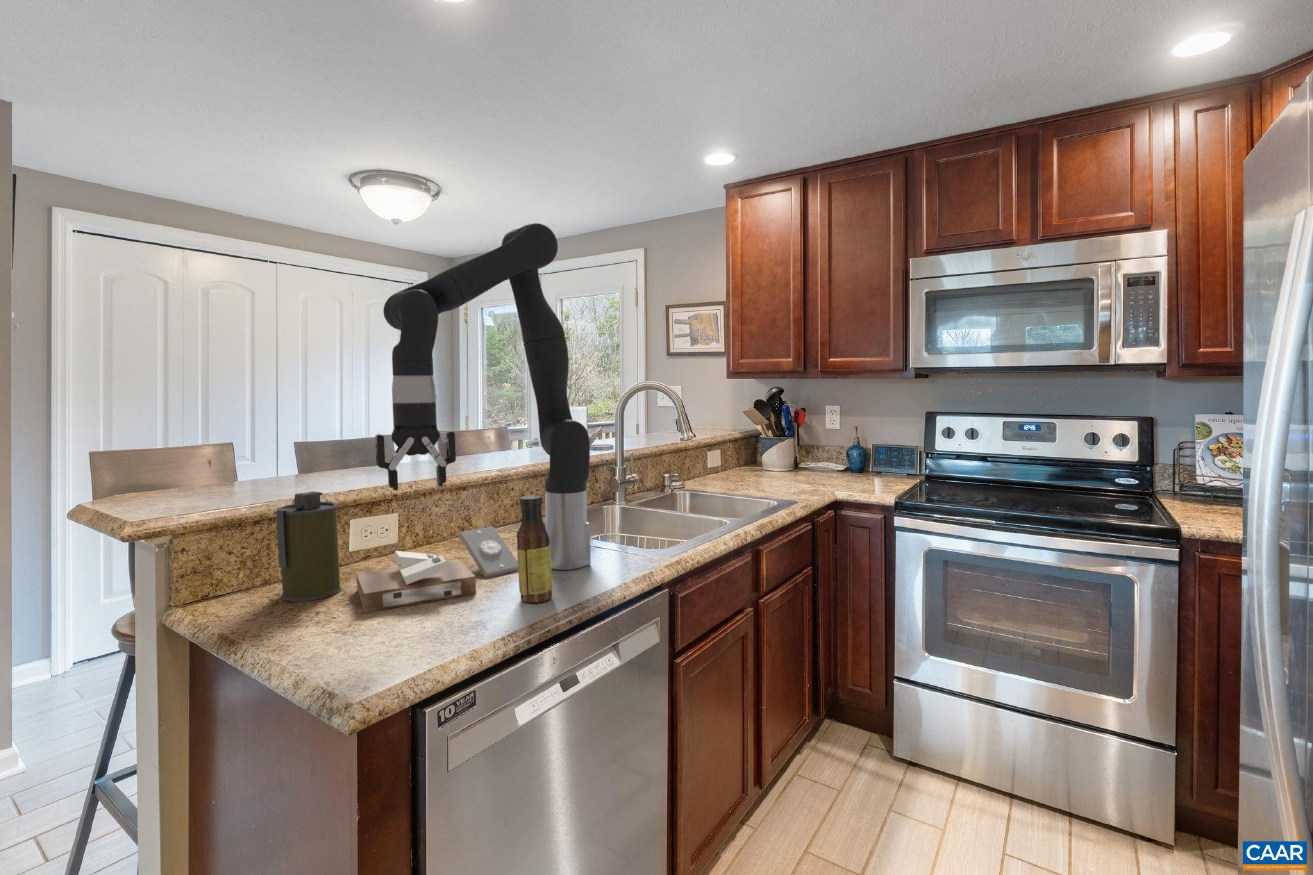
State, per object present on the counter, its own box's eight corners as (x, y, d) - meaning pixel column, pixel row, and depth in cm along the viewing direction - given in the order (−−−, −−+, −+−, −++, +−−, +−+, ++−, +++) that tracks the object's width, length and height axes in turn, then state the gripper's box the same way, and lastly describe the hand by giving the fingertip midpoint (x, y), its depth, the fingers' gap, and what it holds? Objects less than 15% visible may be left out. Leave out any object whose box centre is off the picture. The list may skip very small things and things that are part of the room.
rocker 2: (443, 562, 125) (440, 553, 125) (448, 568, 121) (446, 559, 121) (402, 577, 122) (399, 569, 121) (406, 584, 117) (403, 576, 117)
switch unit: (459, 574, 136) (458, 559, 135) (477, 594, 123) (476, 577, 123) (357, 590, 126) (356, 573, 125) (365, 613, 113) (364, 594, 113)
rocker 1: (433, 562, 132) (435, 553, 132) (438, 568, 128) (440, 559, 128) (393, 558, 128) (395, 549, 128) (397, 564, 124) (399, 555, 124)
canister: (318, 581, 131) (314, 487, 130) (353, 588, 127) (348, 491, 125) (267, 597, 122) (261, 496, 120) (302, 606, 117) (296, 500, 115)
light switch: (487, 571, 133) (459, 528, 142) (481, 591, 135) (455, 548, 144) (522, 563, 139) (494, 523, 147) (516, 583, 141) (489, 542, 150)
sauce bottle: (558, 595, 122) (556, 495, 121) (542, 606, 117) (540, 500, 115) (528, 591, 125) (526, 493, 123) (511, 602, 119) (509, 498, 117)
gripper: (449, 399, 123) (452, 482, 124) (369, 400, 116) (374, 488, 117) (458, 400, 117) (461, 487, 118) (374, 401, 109) (379, 494, 111)
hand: (417, 487), depth 118 cm, fingers open, 7 cm apart
